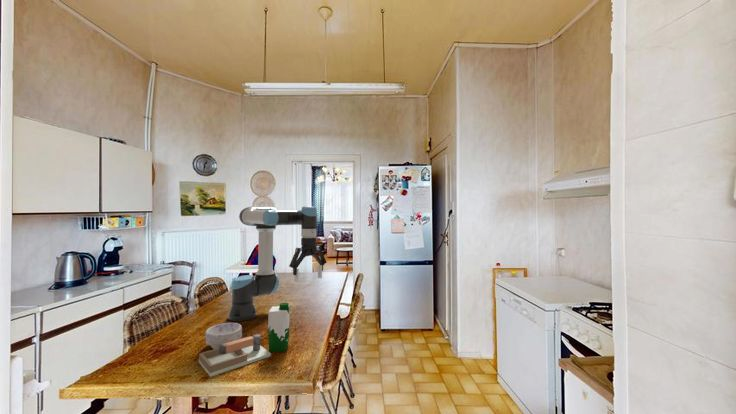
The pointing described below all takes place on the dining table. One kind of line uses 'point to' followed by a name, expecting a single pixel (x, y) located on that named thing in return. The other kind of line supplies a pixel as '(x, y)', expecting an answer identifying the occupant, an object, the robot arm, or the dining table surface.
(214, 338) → the paper bowls
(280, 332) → the soya milk
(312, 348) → the dining table surface
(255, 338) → the leg bar
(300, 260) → the robot arm
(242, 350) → the seat board
